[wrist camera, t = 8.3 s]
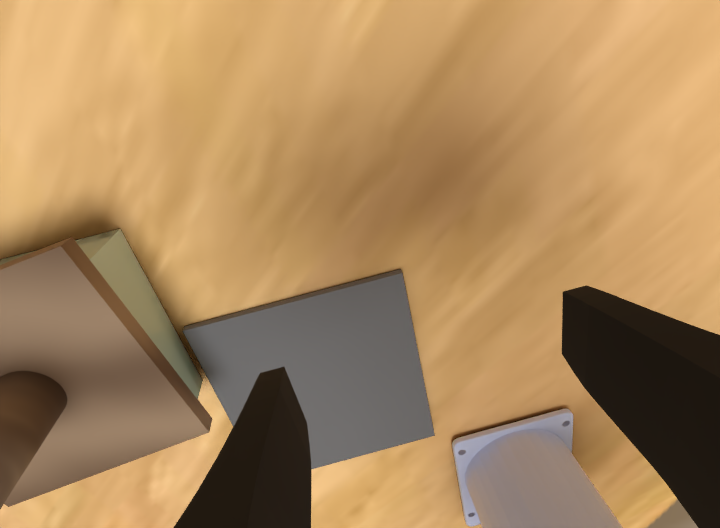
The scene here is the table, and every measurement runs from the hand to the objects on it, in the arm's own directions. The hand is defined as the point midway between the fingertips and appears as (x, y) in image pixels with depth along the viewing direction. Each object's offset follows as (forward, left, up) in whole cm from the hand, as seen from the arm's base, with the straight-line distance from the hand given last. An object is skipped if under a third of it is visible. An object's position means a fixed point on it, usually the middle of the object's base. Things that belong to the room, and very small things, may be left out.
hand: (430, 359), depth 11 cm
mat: (-9, +5, -10) cm, 14 cm away
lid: (-2, +15, -7) cm, 17 cm away
